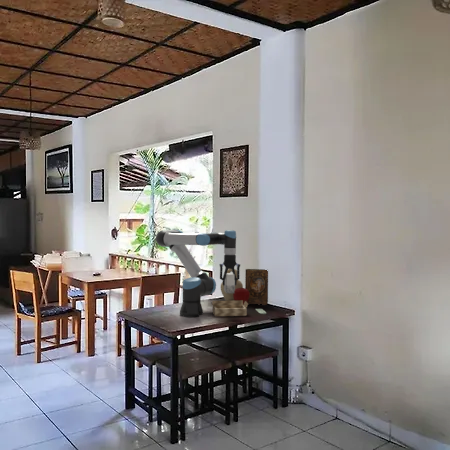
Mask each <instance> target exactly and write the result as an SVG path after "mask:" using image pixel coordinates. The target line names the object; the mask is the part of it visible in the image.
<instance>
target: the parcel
mask: <svg viewBox="0 0 450 450" xmlns="http://www.w3.org/2000/svg"><path fill="white" fill-rule="evenodd" d="M225 280H226V291H225V292H226V293H234V274H233V272H230V273H227V274H226V278H225Z"/></svg>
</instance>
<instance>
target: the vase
mask: <svg viewBox="0 0 450 450" xmlns="http://www.w3.org/2000/svg"><path fill="white" fill-rule="evenodd" d="M234 270H235V274H236V278H237V268H234ZM227 273H233V272H232V269H228V271H227ZM241 287H242V288H244V285H243V283H242V281H241V280H240V279H238V280H237V284H236V285H235V289H237V288H241ZM220 291H221V295H222V297H223V298H224V301H235V300H234V298H233V293H226V292H225V291H224V285H223V281H222V282H221V283H220Z"/></svg>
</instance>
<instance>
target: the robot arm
mask: <svg viewBox="0 0 450 450" xmlns="http://www.w3.org/2000/svg"><path fill="white" fill-rule="evenodd" d="M155 242H156V243H157V245H158V246H159V247H161V248H162V247H164V248H169V250H170V251H171V252H172V253H175V255H176V256H177V258H178V259H179V261H180V262H181V264H182V266H183V268H184V269H185V270H186V272H187V274H188V275H189V277H187V278H184V279H183V281H182V286H181V287H182V304H181V307H180V309H179V315H180V317H187V318H197V317H200V315H203V314H204V309H203V307H202V302H201V298H202V297H207V296H210V295H212V294H214V292H215V291H216V289H217V283H216V280H215V279H214V278H213V277H211V276H209V274H208V273H207V272H206V271H205V272H204V271H203V270H202V269H201V267H200V265H199V264H198V262H197V261H196V260H195V258H194V257H193V255H192V253H191V252H190V251H189V249H188V248H187V246H203V247H204V246H206V247H207V246H214V245H215V246H216V245H221V246H224V248H223V249H224V250H223V253H224V255H223V263H219V279H220V280H221V281H222V282H223V285H224V291H226V280H225V278H226V274H227V271H228V269H232V272H231V273H233V274H234V291H235V285H236V284H237V280H240V267H241V264H240V263H237V259H236V257H237V255H236V254H237V232H236V230H233V229H232V230H231V229H230V230H229V229H225V230H224V232H209V233H196V232H195V233H189V232H187V233H184V232H183V231H182V230H180V229H175V228H174V229H163V230H160V231H158V232H157V234H156V235H155ZM223 267H225V268H223ZM235 267H236V270H237V278H236V274H235V270H234V269H235ZM223 269H224V273H223Z"/></svg>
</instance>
